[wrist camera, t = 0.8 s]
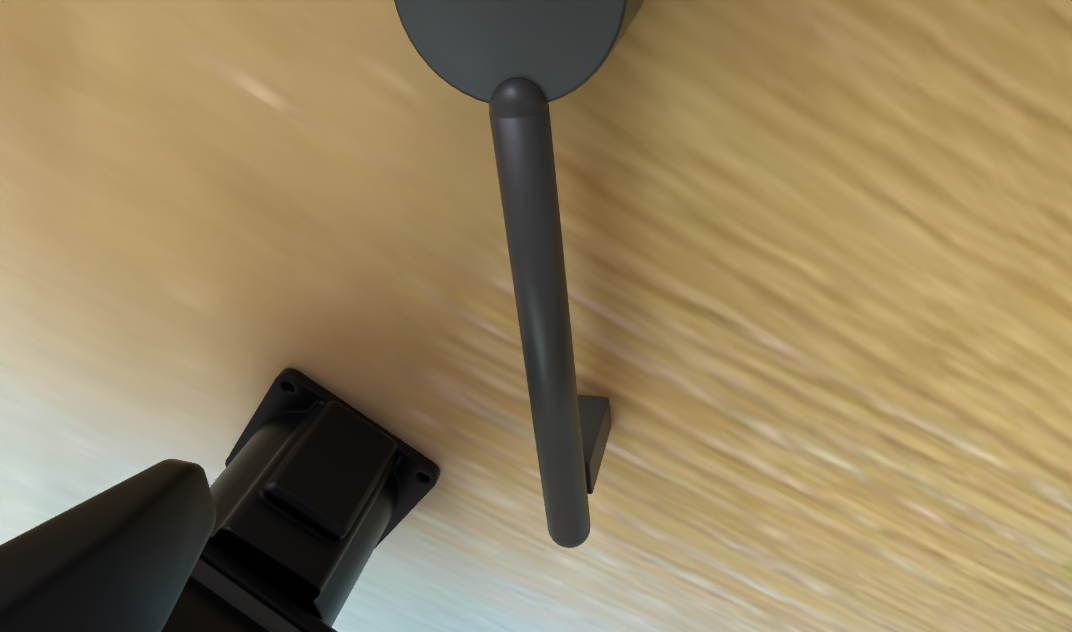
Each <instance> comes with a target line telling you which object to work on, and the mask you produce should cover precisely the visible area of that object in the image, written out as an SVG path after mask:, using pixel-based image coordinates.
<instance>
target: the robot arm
mask: <svg viewBox="0 0 1072 632" xmlns="http://www.w3.org/2000/svg"><path fill="white" fill-rule="evenodd" d="M291 383H292V384H293V385H292V384H291ZM225 465H226V469H225V470H224V471H223V472H222V474H221V475H220V476H219V477H218V478H217V480H216V481H215V482H214V483H213V484H212V486H211V487H210V488H209V484H208V481H207V478H206V474H205V472H204V470H203V468H202V467H201V466H200V465H198V464H196V463H191V462H187V461H182V460H177V459H167V460H164V461H162V462H159V463H157V464H156V465H154V466H152V467H150V468H148V469H146V470H144V471H142V472H140V473H138V474H136V475H134V476H133V477H131V478H129V479H127V480H125V481H123V482H121V483H119V484H117V485H115V486H113V487H111V488H109V489H108V490H106V491H104V492H102V493H100V494H98V495H96V496H94V497H92V498H90V499H88V500H86V501H85V502H83V503H81V504H79V505H77V506H75V507H73V508H71V509H69V510H67V511H65V512H63V513H62V514H60V515H58V516H56V517H54V518H52V519H50V520H48V521H46V522H44V523H42V524H40V525H38V526H37V527H35V528H33V529H31V530H29V531H27V532H25V533H23V534H21V535H19V536H17V537H15V538H14V539H12V540H10V541H8V542H6V543H4V544H2V545H0V632H337V631H336V630H335V629H333V628H332V625H333V623H334V621H335V620H336V618H337V616H338V614H339V612H340V610H341V609H342V607H343V605H344V603H345V601H346V599H347V598H348V596H349V594H350V592H351V590H352V588H353V587H354V585H355V583H356V581H357V579H358V577H359V576H360V574H361V572H362V570H363V568H364V566H365V565H366V563H367V561H368V559H369V557H370V555H371V554H372V552H373V550H374V549H375V548H376V547H377V545H378V544H379V543H380V542H381V541H382V540H383V539H384V538H385V537H386V536H387V535H388V534H389V533H390V532H391V531H392V530H393V529H394V528H395V527H396V526H397V524H398V523H399V522H400V521H401V520H402V519H403V518H404V517H405V516H406V515H407V514H408V513H409V512H410V511H411V510H412V509H413V508H414V507H415V506H416V505H417V503H418V502H419V501H420V500H421V499H422V498H423V497H424V496H425V495H426V494H427V493H428V492H429V491H430V490H431V489H432V488H433V487H434V486H435V484H436V482H437V480H438V478H439V476H440V469H439V467H438V466H437V465H436V464H435V463H434V462H432V461H431V460H429V459H428V458H427V457H425V456H424V455H422V454H421V453H419V452H418V451H416V450H415V449H413V448H412V447H410V446H409V445H407V444H406V443H404V442H403V441H401V440H400V439H398V438H397V437H396V436H394V435H393V434H391V433H390V432H388V431H387V430H385V429H384V428H382V427H381V426H379V425H378V424H376V423H375V422H373V421H372V420H370V419H369V418H367V417H366V416H364V415H363V414H362V413H360V412H359V411H357V410H356V409H354V408H353V407H351V406H350V405H348V404H347V403H345V402H344V401H342V400H341V399H339V398H338V397H336V396H335V395H333V394H332V393H331V392H329V391H328V390H326V389H325V388H323V387H322V386H320V385H319V384H317V383H316V382H314V381H313V380H311V379H310V378H308V377H307V376H305V375H304V374H302V373H301V372H299V371H297V370H295V369H292V368H287V369H284V370H283V371H282V372H281V373H280V374H279V375H278V377H277V378H276V379H275V381H274V382H273V384H272V386H271V387H270V389H269V390H268V392H267V394H266V395H265V397H264V399H263V400H262V402H261V404H260V405H259V407H258V409H257V410H256V412H255V414H254V415H253V417H252V419H251V420H250V422H249V424H248V425H247V427H246V428H245V430H244V432H243V433H242V435H241V437H240V438H239V440H238V442H237V443H236V445H235V447H234V448H233V450H232V452H231V453H230V455H229V457H228V458H227V460H226V463H225Z"/></svg>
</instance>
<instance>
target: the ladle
mask: <svg viewBox="0 0 1072 632" xmlns="http://www.w3.org/2000/svg"><path fill="white" fill-rule="evenodd" d="M394 1H395V5H396V9H397V12H398V15H399V17H400V20H401V23H402V25H403V27H404V29H405V31H406V33H407V35H408V37H409V39H410V41H411V43H412V44H413V46H414V47H415V49H416V50H417V52H418V53H419V55H420V56H421V57H422V58H423V60H424V61H425V62H426V63H427V65H428V66H429V67H430V68H431V69H432V70H433V71H434V72H435V73H436V74H437V75H438V76H440V77H441V78H442V79H443V80H445V81H446V82H447V83H448V84H450V85H451V86H453V87H454V88H456V89H458V90H459V91H461V92H462V93H464V94H466V95H469V96H471V97H473V98H475V99H477V100H481V101H484V102H487V103H489V114H490V121H491V128H492V135H493V142H494V149H495V156H496V163H497V171H498V178H499V185H500V192H501V199H502V206H503V213H504V220H505V227H506V234H507V241H508V248H509V256H510V263H511V270H512V277H513V284H514V291H515V298H516V305H517V312H518V319H519V326H520V333H521V340H522V348H523V355H524V362H525V369H526V376H527V383H528V390H529V397H530V404H531V411H532V418H533V425H534V432H535V440H536V447H537V454H538V461H539V468H540V475H541V482H542V489H543V496H544V503H545V510H546V517H547V524H548V531H549V534H550V536H551V538H552V539H553V541H554V542H555V543H557V544H558V545H560V546H562V547H566V548H573V547H577V546H579V545H581V544H582V543H583V542H584V541H585V540H586V539H587V537H588V535H589V532H590V515H589V505H588V495H587V494H592V493H593V490H594V486H595V483H596V479H597V476H598V472H599V468H600V465H601V461H602V458H603V454H604V450H605V447H606V443H607V440H608V436H609V432H610V429H611V422H610V408H609V399H608V398H602V397H590V396H578V395H577V385H576V375H575V364H574V354H573V344H572V334H571V324H570V314H569V304H568V294H567V284H566V274H565V264H564V254H563V244H562V234H561V224H560V214H559V203H558V193H557V183H556V173H555V163H554V153H553V143H552V133H551V123H550V113H549V104H548V103H549V102H551V101H554V100H556V99H559V98H562V97H563V96H565V95H567V94H569V93H571V92H572V91H574V90H576V89H577V88H578V87H580V86H581V85H582V84H584V83H585V82H586V81H587V80H588V79H589V78H590V77H591V76H592V75H593V74H594V73H595V72H596V71H597V70H598V69H599V68H600V66H601V65H602V64H603V62H604V61H605V60H606V59H607V57H608V56H609V54H610V53H611V51H612V50H613V48H614V47H615V45H616V44H617V42H618V41H619V39H620V38H621V36H622V35H623V33H624V32H625V31H626V29H627V28H628V26H629V25H630V23H631V22H632V20H633V19H634V17H635V16H636V14H637V12H638V10H639V9H640V7H641V5H642V3H643V1H644V0H394Z"/></svg>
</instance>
